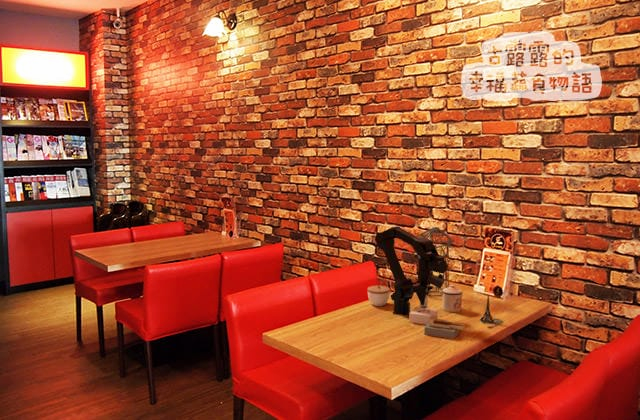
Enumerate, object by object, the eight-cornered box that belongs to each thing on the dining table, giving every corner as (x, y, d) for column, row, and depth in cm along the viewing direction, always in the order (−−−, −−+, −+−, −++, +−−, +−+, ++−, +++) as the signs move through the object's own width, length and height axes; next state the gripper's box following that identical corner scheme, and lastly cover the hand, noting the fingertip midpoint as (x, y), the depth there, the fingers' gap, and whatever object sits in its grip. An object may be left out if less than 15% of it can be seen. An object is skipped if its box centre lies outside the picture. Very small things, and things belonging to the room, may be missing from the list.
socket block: (424, 334, 219) (424, 327, 219) (430, 326, 228) (430, 320, 228) (454, 339, 214) (454, 331, 213) (459, 331, 223) (459, 324, 222)
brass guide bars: (428, 325, 220) (428, 319, 220) (432, 321, 225) (432, 314, 225) (462, 330, 214) (462, 323, 214) (465, 326, 219) (465, 319, 219)
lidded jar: (365, 306, 257) (365, 287, 256) (370, 300, 267) (370, 281, 266) (387, 308, 254) (387, 289, 252) (391, 302, 264) (391, 283, 262)
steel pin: (419, 317, 236) (419, 295, 234) (421, 315, 238) (421, 293, 237) (426, 318, 234) (426, 296, 233) (428, 316, 237) (428, 294, 236)
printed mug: (456, 313, 245) (457, 288, 244) (438, 310, 251) (439, 285, 249) (467, 307, 254) (468, 283, 253) (449, 303, 260) (450, 280, 258)
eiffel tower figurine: (490, 330, 225) (491, 299, 224) (468, 324, 232) (469, 294, 231) (507, 321, 236) (508, 291, 234) (485, 316, 243) (486, 287, 241)
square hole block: (409, 322, 234) (409, 313, 234) (415, 315, 243) (415, 306, 243) (432, 325, 230) (432, 316, 229) (437, 318, 239) (438, 309, 238)
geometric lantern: (443, 289, 285) (446, 224, 280) (452, 298, 270) (456, 230, 265) (414, 289, 284) (416, 224, 279) (421, 299, 269) (424, 230, 264)
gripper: (437, 275, 222) (436, 312, 224) (448, 266, 238) (447, 300, 240) (411, 273, 227) (410, 309, 229) (423, 263, 243) (422, 297, 245)
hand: (423, 304), depth 236 cm, fingers closed on steel pin, 3 cm apart
